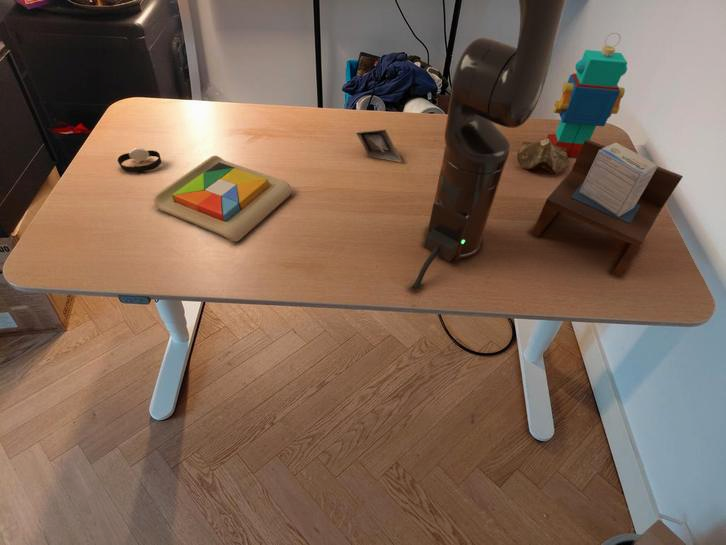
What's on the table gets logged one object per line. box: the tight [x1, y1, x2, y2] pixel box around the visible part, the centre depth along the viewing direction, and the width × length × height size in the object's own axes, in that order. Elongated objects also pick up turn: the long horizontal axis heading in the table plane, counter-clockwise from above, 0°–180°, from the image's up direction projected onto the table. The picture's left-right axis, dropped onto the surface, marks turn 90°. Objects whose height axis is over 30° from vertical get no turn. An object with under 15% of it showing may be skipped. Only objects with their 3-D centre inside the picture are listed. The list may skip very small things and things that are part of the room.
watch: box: [117, 147, 162, 174], centre depth 92 cm, size 8×5×4 cm, turn 108°
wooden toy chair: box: [532, 139, 684, 277], centre depth 81 cm, size 12×16×14 cm
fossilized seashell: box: [516, 138, 570, 175], centre depth 99 cm, size 8×7×10 cm
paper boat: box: [355, 129, 404, 163], centre depth 98 cm, size 12×6×9 cm
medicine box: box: [580, 142, 659, 217], centre depth 77 cm, size 8×4×9 cm, turn 35°
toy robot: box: [546, 32, 628, 158], centre depth 96 cm, size 12×6×25 cm, turn 84°
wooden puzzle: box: [153, 155, 292, 242], centre depth 87 cm, size 18×19×4 cm
